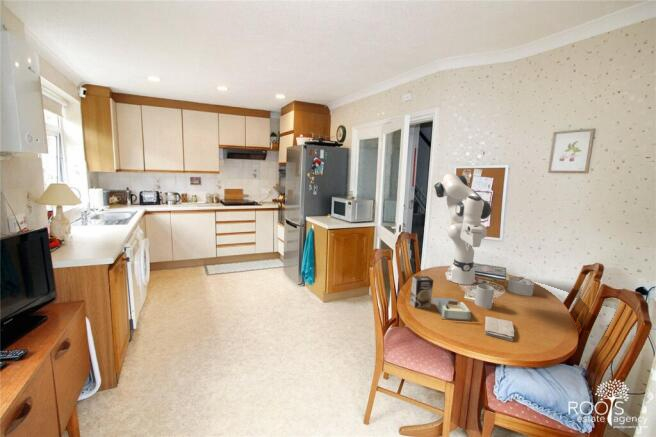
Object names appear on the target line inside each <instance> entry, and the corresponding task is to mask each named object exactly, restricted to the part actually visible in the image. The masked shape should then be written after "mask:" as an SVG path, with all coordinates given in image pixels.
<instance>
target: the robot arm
mask: <svg viewBox="0 0 656 437" xmlns="http://www.w3.org/2000/svg"><path fill="white" fill-rule="evenodd" d="M433 185H434V186H433V192H434V195H435V196H436V197H437V198H444V197H446V204H447V209H448V211H449V214H450V216H451V218H452V220H453V221H454V222H456V223H454V224H450V225H449V226H448V229H447V235H448V237H449V238H450V239H451V240H452V241H453V244H454V247H455V256H454V259H453V263H452V264H451V265H450V266H449V267H448V268H447V271H445V278H446V280H447V281H450V282H453V283H456V284H460V285H465V286H467V285H469V286H470V285H473V284H474V283H477V279H475V278H476V277H475V275H476V270H475V268H474V264H475V262H474V257H475V250H474V248H480V246H481V244H482V240H483V239H485V238H486V237H487V234H488V230H487V226H486V225H484V224H482V220H486V219H487V218H488V217H490V216H491V214H492V206H491V204H490V203H489V202H488V201H487V200H484V198H483V197H481V196H480V195H479V193H477V192H476V191H475V190H474V189H473V188H471V187H469V181H468V178H466V176H464V175H456V174H455V173H452V172H451V173H447V174H445V176H443V179H442V181H440V182H439V181H438V182H436V183H435V184H433Z"/></svg>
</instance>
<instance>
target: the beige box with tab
mask: <svg viewBox="0 0 656 437" xmlns="http://www.w3.org/2000/svg"><path fill="white" fill-rule="evenodd" d="M458 302H459V301H458V300H457V301H448V303H447V304H446V308H447V309H453V310H462V308H461V307H460V305H459V304H460V303H459V304H458Z"/></svg>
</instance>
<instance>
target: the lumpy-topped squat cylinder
mask: <svg viewBox="0 0 656 437" xmlns="http://www.w3.org/2000/svg"><path fill="white" fill-rule="evenodd" d="M508 278H509V279H508V283H507V290H508V291H509V292H511V293H512V294H513V293H514V294H516V295H520V296H521V295H522V296H525V297H527V296H528V297H532V296H533V293H534V288H535V284H534V281H533V280H532V279H530V278H525V277H524V276H512V277H508Z"/></svg>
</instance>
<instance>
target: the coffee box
mask: <svg viewBox="0 0 656 437" xmlns="http://www.w3.org/2000/svg"><path fill="white" fill-rule="evenodd" d="M433 288H434V279H433V278H431V277H429V276H428V275H427V276H423V275H422V276H421V275H419V276H417V275H416V276H412V281H411V291H410V300H409V301H410V302H409V305H410V306H412V307H413V308H415V309H421V308H422V309H423V308H431V306H432V299H431V298H432V297H433Z"/></svg>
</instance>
